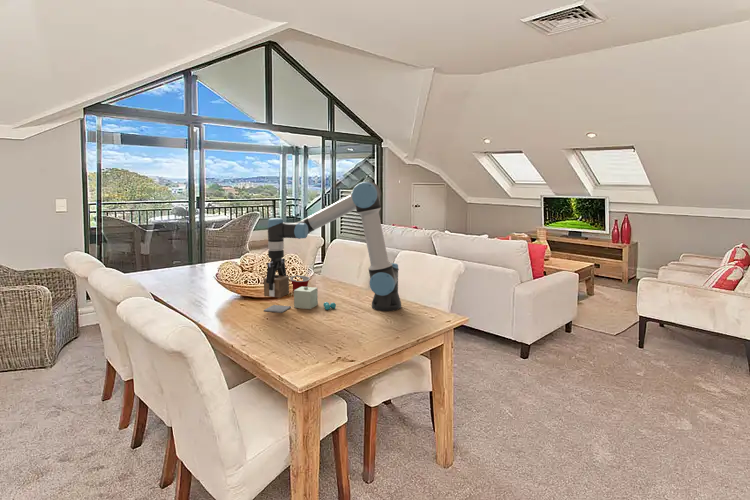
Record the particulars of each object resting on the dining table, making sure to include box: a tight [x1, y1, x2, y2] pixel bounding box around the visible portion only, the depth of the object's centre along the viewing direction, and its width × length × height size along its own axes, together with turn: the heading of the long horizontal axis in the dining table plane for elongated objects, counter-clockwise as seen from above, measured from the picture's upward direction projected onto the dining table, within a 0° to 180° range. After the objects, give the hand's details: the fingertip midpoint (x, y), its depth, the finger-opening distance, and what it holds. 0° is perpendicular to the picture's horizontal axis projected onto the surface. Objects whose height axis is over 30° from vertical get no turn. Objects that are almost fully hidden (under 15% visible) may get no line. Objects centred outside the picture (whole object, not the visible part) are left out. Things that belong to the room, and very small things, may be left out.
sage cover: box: [293, 286, 319, 310], centre depth 245 cm, size 9×9×10 cm
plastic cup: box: [289, 275, 311, 294], centre depth 258 cm, size 11×11×12 cm
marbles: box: [323, 301, 337, 311], centre depth 242 cm, size 18×6×3 cm, turn 73°
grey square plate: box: [263, 304, 292, 314], centre depth 239 cm, size 10×10×1 cm
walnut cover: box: [263, 274, 290, 298], centre depth 237 cm, size 9×9×10 cm
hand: (276, 293), depth 238 cm, fingers closed on walnut cover, 9 cm apart
